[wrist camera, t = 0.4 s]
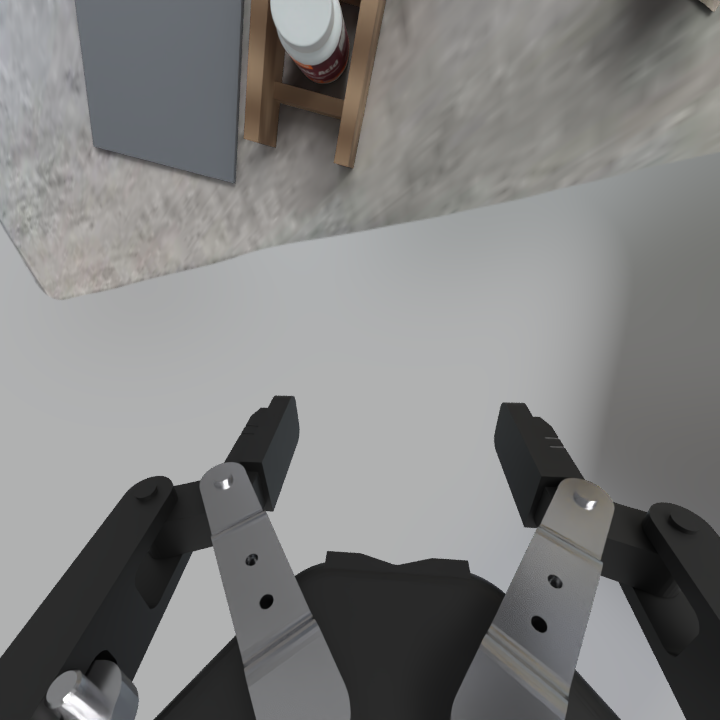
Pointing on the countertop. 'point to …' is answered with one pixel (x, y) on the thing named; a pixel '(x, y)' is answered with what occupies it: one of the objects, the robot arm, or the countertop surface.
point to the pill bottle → (313, 36)
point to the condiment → (711, 4)
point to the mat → (165, 80)
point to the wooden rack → (270, 90)
